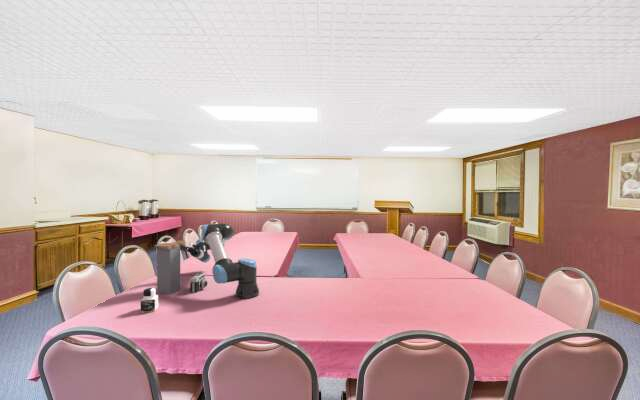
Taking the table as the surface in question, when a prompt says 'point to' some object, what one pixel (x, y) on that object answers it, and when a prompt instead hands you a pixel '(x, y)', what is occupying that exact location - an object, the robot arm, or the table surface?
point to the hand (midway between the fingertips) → (181, 243)
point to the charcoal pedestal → (168, 270)
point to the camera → (197, 283)
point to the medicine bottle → (149, 300)
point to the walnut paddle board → (168, 245)
